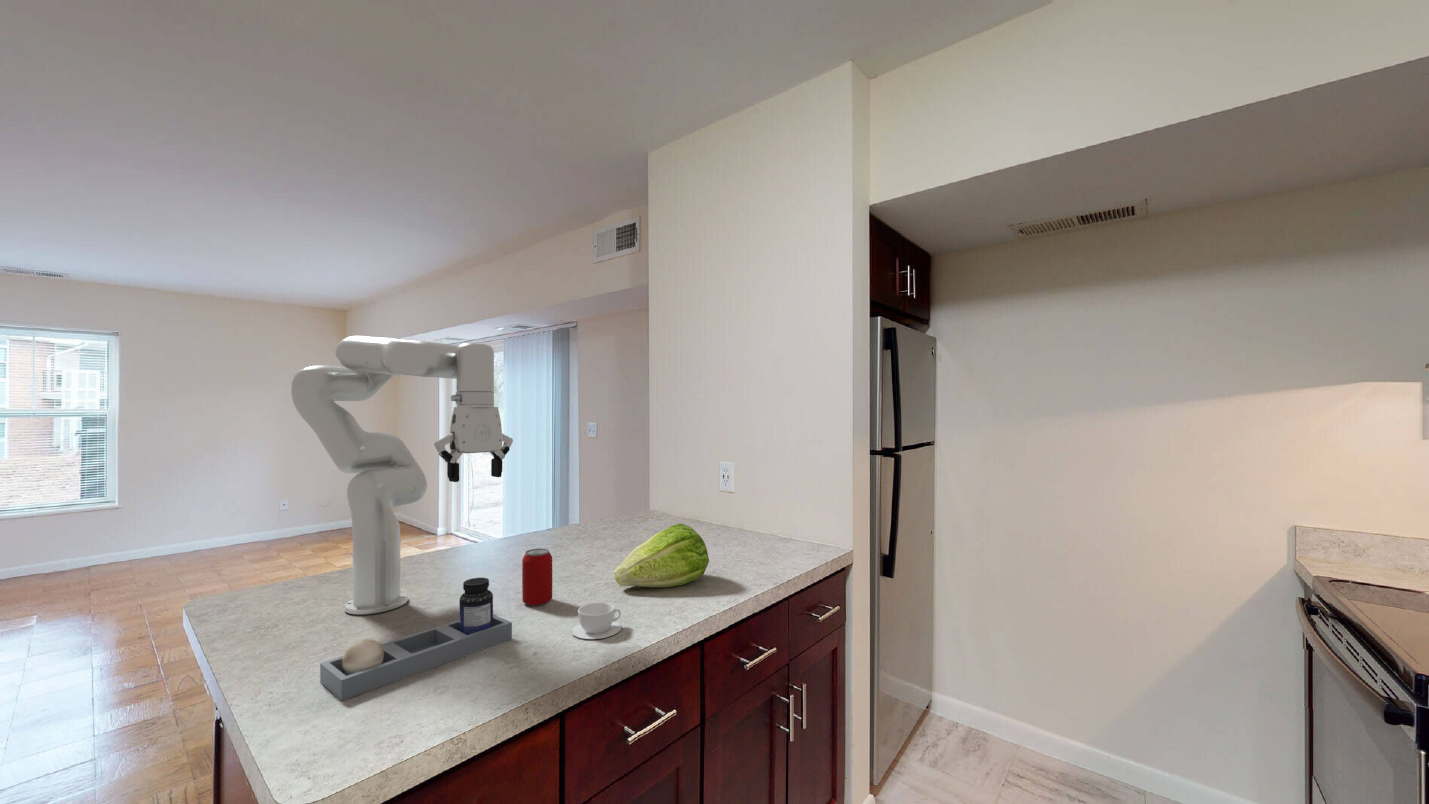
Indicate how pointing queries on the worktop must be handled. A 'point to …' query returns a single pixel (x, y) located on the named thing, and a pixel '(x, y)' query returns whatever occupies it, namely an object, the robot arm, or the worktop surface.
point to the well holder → (412, 656)
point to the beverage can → (537, 577)
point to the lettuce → (665, 559)
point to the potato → (362, 656)
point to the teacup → (597, 621)
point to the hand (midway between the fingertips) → (475, 479)
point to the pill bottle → (476, 606)
